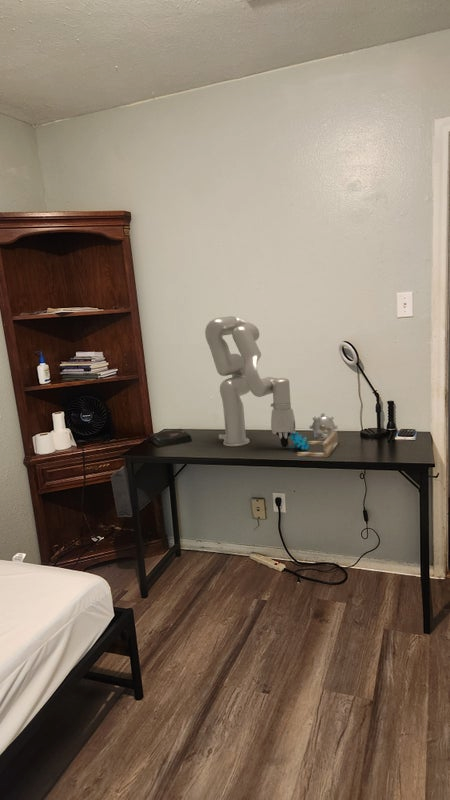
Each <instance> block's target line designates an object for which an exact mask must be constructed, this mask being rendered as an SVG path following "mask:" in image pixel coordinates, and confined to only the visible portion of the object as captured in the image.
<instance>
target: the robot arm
mask: <svg viewBox="0 0 450 800" xmlns="http://www.w3.org/2000/svg"><path fill="white" fill-rule="evenodd" d="M204 330H205V331H204V334H205V339H206V341H207V342H206V343H207V345H208V347H209V350H210V352H211V357H212V359H213V362H214V366H215V368H216V372H217V373H218V375H219V376H221V377H226V376H227V377H228V376H232V377H228V378H227V379H226V378H225V379H224V380H223V381H222V382H221V383H220V385H219V394H220V396H221V402H222V406H223V409H222V410H223V418H224V430H225V434H223V433H222V434H220V433H219V434H218V438H219V440H223V443H222V444H223V445H224V446H225V447H242V446H247V445H248V444H249V443H250V439H249V438H248V437H247V435H246V423H245V422H246V421H245V411H244V410H245V409H244V403H243V401H242V399H241V396H244V395H246V394H248V393H250V392H251V393H252V395H253V396H255V397H258V398H261V397H262V398H263V397H265V396H267V395H271V394H272V398H273V399H272V402H273V403H271V404H270V407H271V408H273V409H272V410H271V418H270V421H271V423H270V427H271V428H270V429H271V431H272V432H271V433H272V434H274V435H277V436H278V437H279V439H280V445H281V447H282V448H286V447H288V445H289V437H291V436H290V435H291V433H292V434H295V433H296V432H297V431H296V419H295V414H294V410H293V408H292V404H291V403H292V402H291V392H290V391H291V388H290V387H291V386H290V380H289V378H285V377H280V378H277V377H272V376H266V377H264V378H261V376H260V375H259V372H258V369H257V368H258V362H259V361H260V358H261V357H262V352H261V351H260V349H259V347H258V345H257V340H259V338H260V331H259V328H258V327H257V326H256V325H255V324H253V323H251V322H248V321H247V320H244V319H242V318H239V317H237V316H234V315H233V316H230V315H229V316H221V317H216V318H213V319H211V320H210V321H209V322H207V325H206V326H205V329H204ZM224 336H231V337H232V339H233V341H234V344H235V346H236V348H237V350H238V352H239V354H238V353H231V351H230V347H229V344H228V343H227V342H226V340H225V338H223V337H224Z"/></svg>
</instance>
